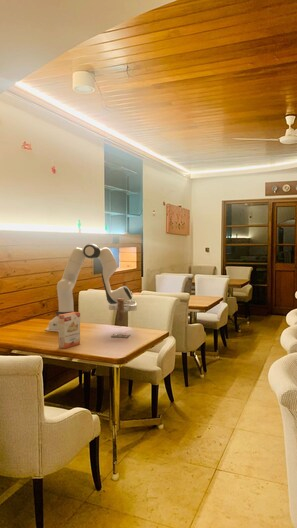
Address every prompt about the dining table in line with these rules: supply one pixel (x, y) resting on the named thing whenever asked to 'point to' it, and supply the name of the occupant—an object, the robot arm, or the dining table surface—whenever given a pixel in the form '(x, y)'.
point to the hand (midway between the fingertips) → (120, 308)
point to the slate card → (120, 335)
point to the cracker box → (69, 329)
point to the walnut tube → (120, 309)
